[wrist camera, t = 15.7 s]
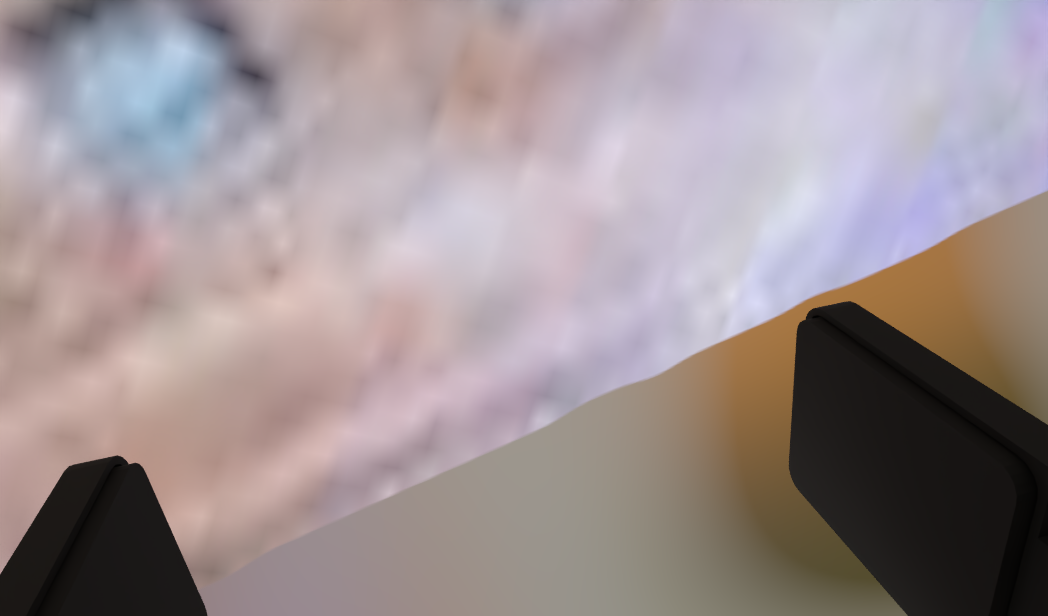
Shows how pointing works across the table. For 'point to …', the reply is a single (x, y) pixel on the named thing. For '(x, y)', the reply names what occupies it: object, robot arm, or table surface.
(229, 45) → the table surface
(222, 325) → the table surface
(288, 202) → the table surface
